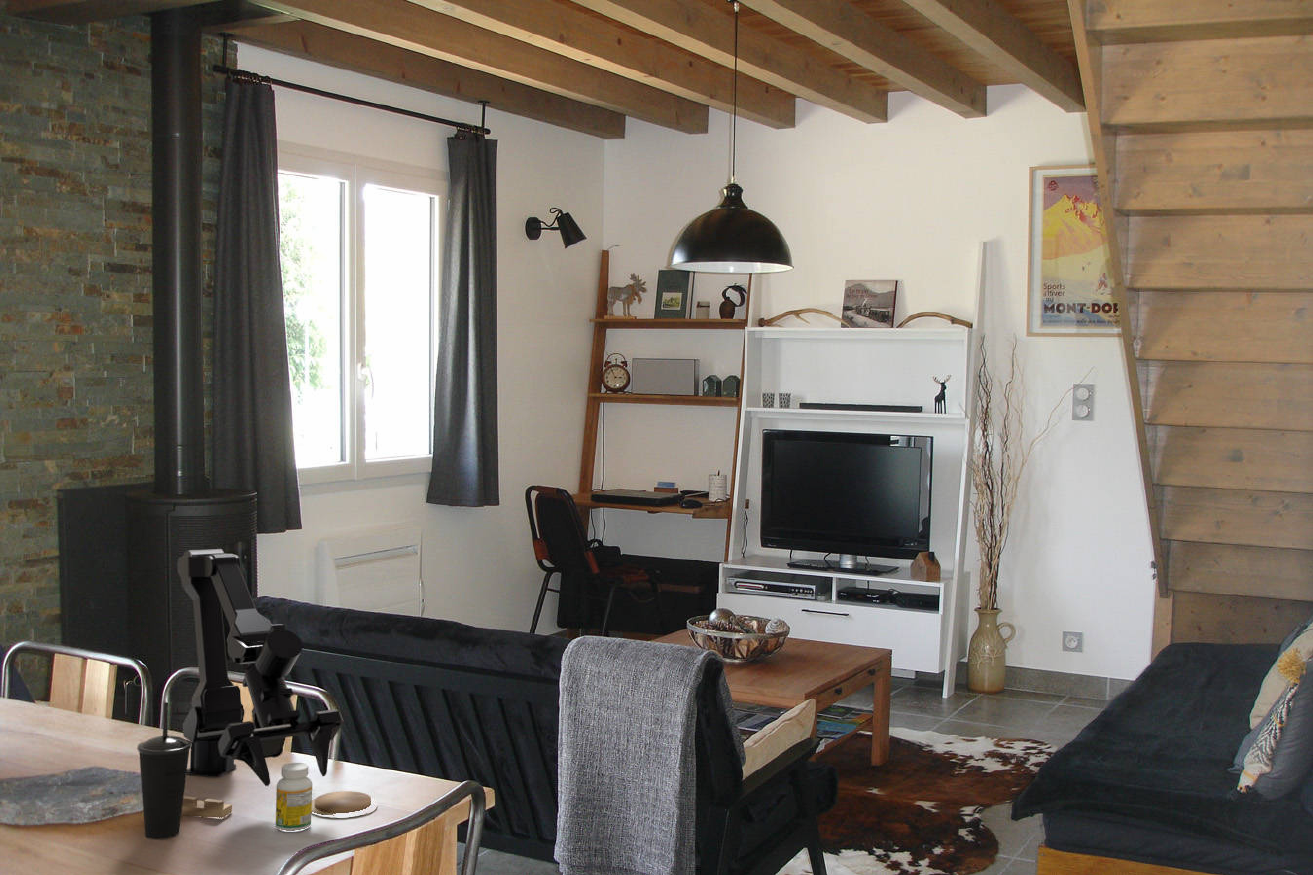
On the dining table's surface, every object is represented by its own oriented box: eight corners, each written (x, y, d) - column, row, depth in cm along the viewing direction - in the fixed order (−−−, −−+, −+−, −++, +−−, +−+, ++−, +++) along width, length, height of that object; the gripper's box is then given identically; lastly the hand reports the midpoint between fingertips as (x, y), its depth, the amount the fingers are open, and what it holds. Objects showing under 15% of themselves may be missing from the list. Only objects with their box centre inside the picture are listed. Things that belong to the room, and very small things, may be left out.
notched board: (175, 814, 197) (176, 797, 197) (186, 808, 200) (187, 791, 200) (221, 819, 195) (222, 802, 195) (231, 813, 198) (232, 796, 198)
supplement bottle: (311, 832, 191) (313, 770, 191) (275, 834, 190) (277, 772, 189) (310, 820, 196) (312, 760, 196) (275, 822, 195) (277, 761, 195)
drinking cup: (172, 821, 193) (176, 694, 193) (198, 833, 189) (202, 703, 188) (125, 833, 188) (128, 702, 187) (151, 846, 183) (155, 711, 182)
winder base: (295, 814, 199) (295, 806, 199) (327, 793, 210) (327, 786, 210) (359, 821, 197) (359, 814, 197) (388, 800, 208) (388, 793, 208)
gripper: (307, 714, 211) (334, 795, 203) (197, 729, 199) (222, 817, 191) (330, 677, 205) (359, 759, 197) (218, 690, 193) (244, 779, 185)
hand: (296, 779), depth 192 cm, fingers open, 9 cm apart
